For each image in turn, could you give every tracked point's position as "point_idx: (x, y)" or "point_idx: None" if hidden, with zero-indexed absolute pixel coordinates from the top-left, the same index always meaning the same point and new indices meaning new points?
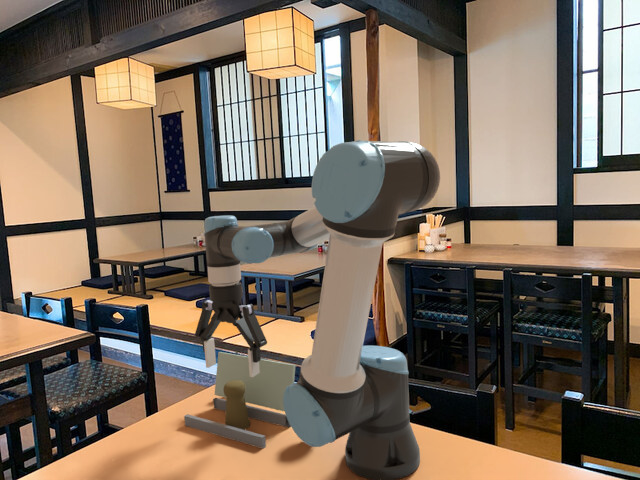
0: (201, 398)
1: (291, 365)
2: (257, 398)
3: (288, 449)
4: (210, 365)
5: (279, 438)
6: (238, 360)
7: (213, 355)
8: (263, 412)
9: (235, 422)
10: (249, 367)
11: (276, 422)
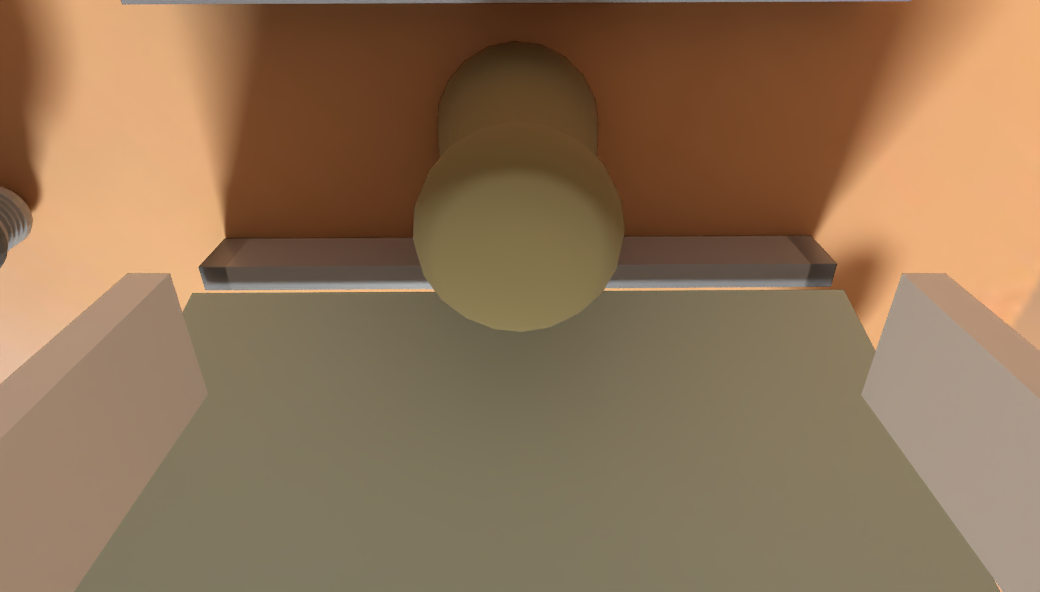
0: None
1: None
2: (458, 323)
3: (21, 33)
4: (899, 320)
5: (174, 117)
6: (711, 556)
7: (942, 458)
8: (399, 262)
9: (472, 77)
10: (88, 345)
11: (311, 242)
